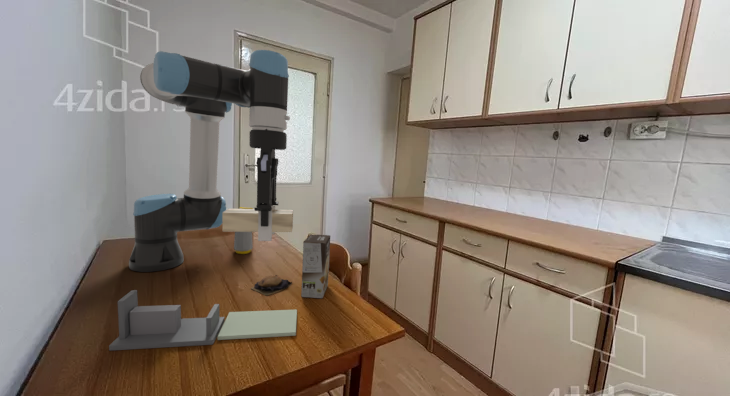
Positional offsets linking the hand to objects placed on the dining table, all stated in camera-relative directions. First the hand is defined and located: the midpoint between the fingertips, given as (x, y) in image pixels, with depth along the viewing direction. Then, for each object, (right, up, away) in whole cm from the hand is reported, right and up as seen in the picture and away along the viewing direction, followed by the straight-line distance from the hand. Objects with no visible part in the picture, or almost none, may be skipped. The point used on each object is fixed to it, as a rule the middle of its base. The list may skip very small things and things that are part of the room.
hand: (266, 236), depth 67 cm
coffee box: (+7, -19, +22) cm, 30 cm away
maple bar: (-1, +2, -1) cm, 2 cm away
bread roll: (-6, -19, +24) cm, 31 cm away
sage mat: (-2, -21, +3) cm, 21 cm away
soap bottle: (-26, -13, +53) cm, 60 cm away
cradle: (-19, -20, -3) cm, 28 cm away
